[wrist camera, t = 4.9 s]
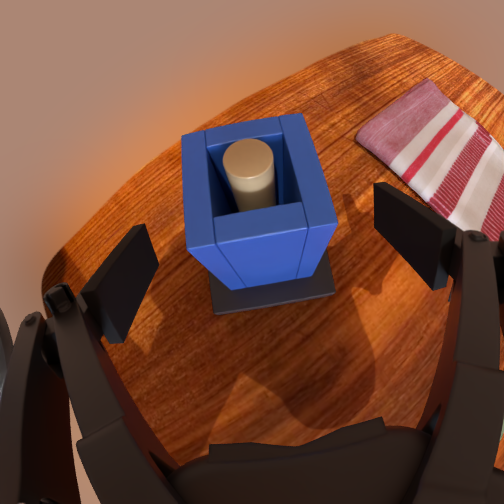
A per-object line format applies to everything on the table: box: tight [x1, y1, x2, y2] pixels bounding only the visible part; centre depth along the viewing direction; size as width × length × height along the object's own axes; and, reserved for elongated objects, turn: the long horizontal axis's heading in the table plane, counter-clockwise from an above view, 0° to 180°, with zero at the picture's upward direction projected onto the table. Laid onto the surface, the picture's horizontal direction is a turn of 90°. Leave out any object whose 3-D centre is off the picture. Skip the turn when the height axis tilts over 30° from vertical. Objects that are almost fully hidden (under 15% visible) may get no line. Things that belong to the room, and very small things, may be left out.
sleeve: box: [181, 113, 338, 290], centre depth 16 cm, size 6×6×10 cm
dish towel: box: [356, 78, 504, 241], centre depth 21 cm, size 17×23×3 cm
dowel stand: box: [208, 139, 336, 315], centre depth 16 cm, size 9×9×12 cm
